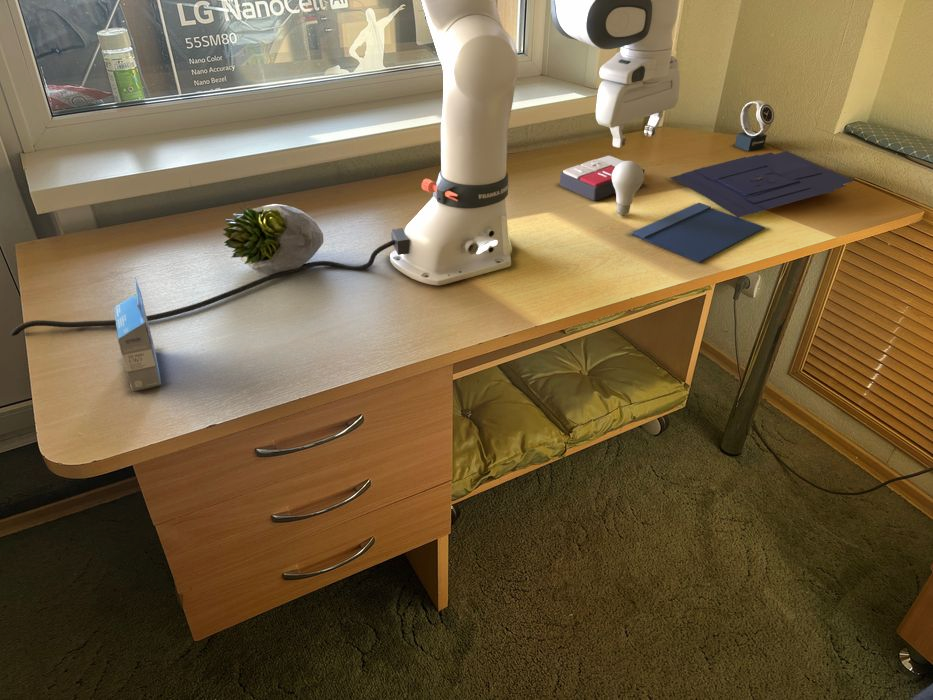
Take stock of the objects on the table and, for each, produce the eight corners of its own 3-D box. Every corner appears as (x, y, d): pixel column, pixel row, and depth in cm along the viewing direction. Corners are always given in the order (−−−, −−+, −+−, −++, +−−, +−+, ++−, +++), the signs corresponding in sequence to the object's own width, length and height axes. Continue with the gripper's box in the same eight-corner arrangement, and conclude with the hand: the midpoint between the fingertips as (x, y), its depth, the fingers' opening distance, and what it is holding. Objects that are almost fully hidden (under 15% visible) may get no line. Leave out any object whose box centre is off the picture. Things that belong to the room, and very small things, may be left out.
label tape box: (127, 357, 100) (102, 280, 93) (158, 351, 101) (136, 274, 94) (131, 392, 93) (105, 312, 86) (164, 385, 94) (141, 305, 87)
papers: (859, 196, 147) (863, 179, 145) (737, 230, 141) (739, 213, 138) (779, 160, 166) (781, 144, 164) (667, 188, 160) (669, 173, 157)
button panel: (559, 169, 152) (608, 152, 160) (558, 188, 155) (607, 170, 162) (596, 184, 145) (646, 166, 152) (594, 204, 148) (643, 185, 155)
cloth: (699, 263, 125) (700, 259, 125) (631, 235, 134) (632, 231, 134) (764, 228, 137) (765, 225, 137) (698, 205, 146) (698, 202, 146)
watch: (754, 153, 173) (765, 107, 167) (729, 144, 179) (739, 99, 173) (770, 149, 176) (781, 104, 169) (744, 140, 181) (754, 96, 175)
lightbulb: (637, 222, 139) (646, 168, 133) (606, 219, 140) (613, 165, 134) (637, 210, 144) (646, 157, 138) (607, 207, 145) (614, 155, 139)
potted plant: (335, 254, 119) (258, 261, 108) (296, 282, 128) (220, 291, 117) (312, 187, 120) (233, 188, 109) (274, 220, 129) (197, 223, 118)
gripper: (664, 51, 133) (654, 125, 141) (593, 69, 122) (586, 148, 130) (693, 57, 129) (680, 132, 137) (622, 76, 118) (613, 157, 126)
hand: (634, 140), depth 133 cm, fingers open, 8 cm apart
